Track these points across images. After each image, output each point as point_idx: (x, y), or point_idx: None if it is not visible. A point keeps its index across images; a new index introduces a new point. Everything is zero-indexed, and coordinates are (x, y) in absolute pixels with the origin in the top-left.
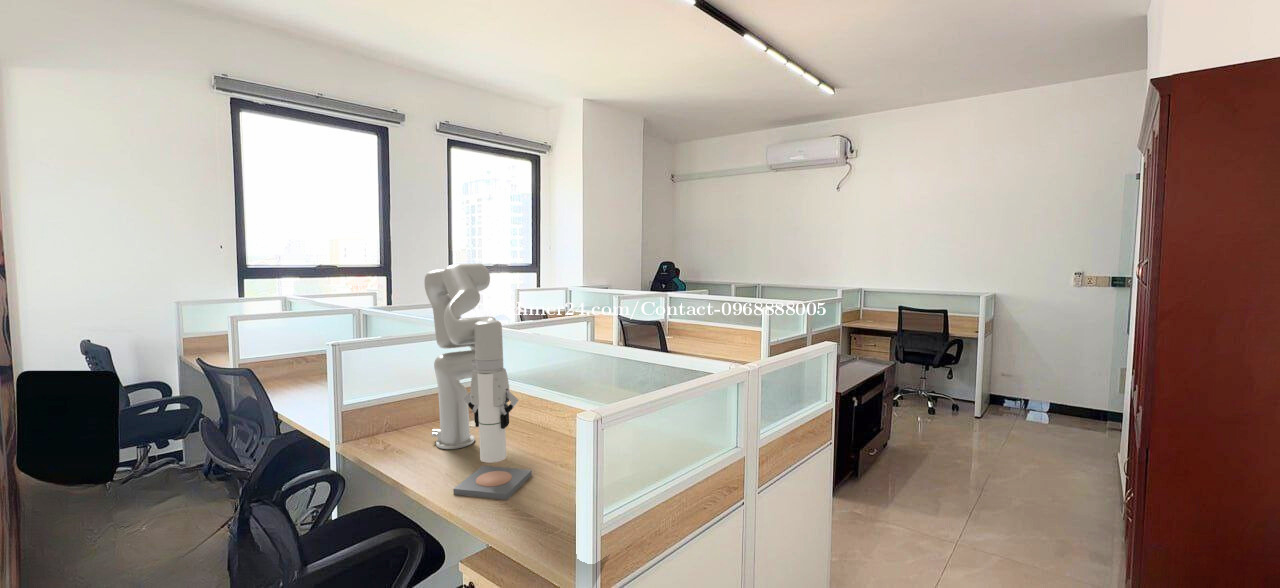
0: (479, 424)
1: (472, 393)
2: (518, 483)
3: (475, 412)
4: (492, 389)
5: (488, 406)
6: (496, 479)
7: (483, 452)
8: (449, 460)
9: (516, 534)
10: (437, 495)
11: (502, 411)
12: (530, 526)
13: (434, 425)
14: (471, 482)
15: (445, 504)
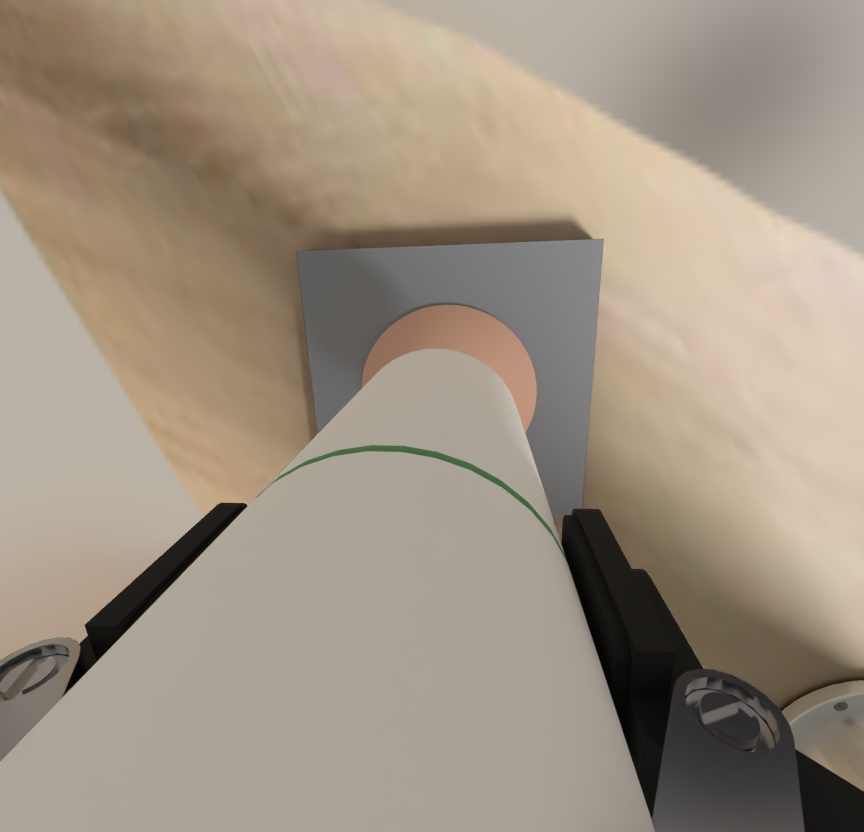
0: (516, 485)
1: None
2: (312, 379)
3: (678, 680)
4: None
5: (88, 745)
6: None
7: (459, 366)
8: (799, 578)
9: None
10: (677, 207)
11: (36, 697)
12: (58, 28)
13: None
14: (541, 333)
15: (581, 121)
